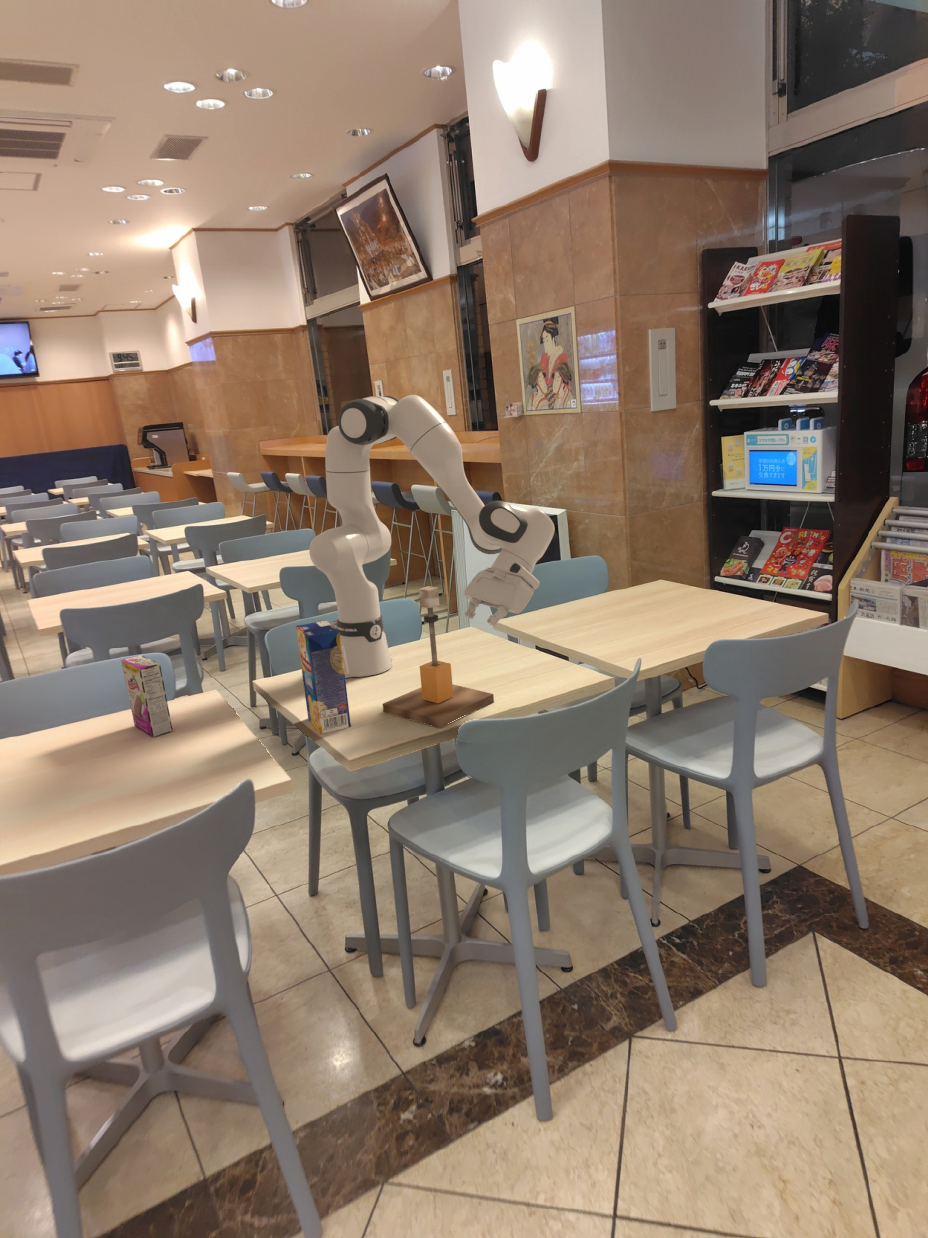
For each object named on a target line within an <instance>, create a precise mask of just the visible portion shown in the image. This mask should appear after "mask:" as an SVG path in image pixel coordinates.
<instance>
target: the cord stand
mask: <svg viewBox="0 0 928 1238" xmlns="http://www.w3.org/2000/svg"><path fill="white" fill-rule="evenodd" d="M418 597H419V605H420V606H419V607H420V608H426V609H427V614H426V615H424V616H423V621H424V623H427V624H428V629H429V630H428V631H429V640H430V641H429V642H430V651H431V652H430V653H431V661H432V665H433V666H435V667H436V666H438V662H437V661H438V651H437V650H438V649H437V640H436V630H435V629H436V628H435V623H436V622H438V621H439V615H438V614H436V613H435V614H434V608H435V607H437V606H440V595H439V587H436V586H430V585H429V586H428V585H427V586H425V587H422V588H421V587H420V588H419V589H418ZM452 686H453V697H452V698H449V699H447V700H445V701H443V702H441V703H434V702H431V701H427V700H423V698H422V687H419V688H416V689H414V690H412V691H410V692H407V693H404V694H403V695H400V696H398V697H395V698H393V699H391V700H388V701H386V702H384V703H382V710H383V711H382V712H383V713H385V712H386V713H385V714H389V713H390V714H389V715H392V714H393V716H396V715H397V716H396V717H399V716H400V718H404V719H406V720H409V719H410V720H409V721H413V720H414V722H416V721H417V723H420V722H421V723H420V724H423V723H425V724H424V725H427V724H428V725H427V726H430V725H432V726H431V727H434V726H435V727H434V728H437V727H438V729H442V728H444V727H446V726H448V725H449V724H448V723H450V722H452V721H454V720H456V719H458V718H460V717H462V716H464V715H466V714H468V713H471V712H473V713H475V712H476V711H475V710H477V711H479V710H481V709H483V708H485V707H487V706H489V705H491V704H493V703H495V699H494V698H495V697H494V696H495V695H494V693H491V692H487V691H482V690H479V689H473V688H470V687H465V686H462V685H459V684H453V683H452ZM480 708H481V709H480ZM478 709H479V710H478ZM474 711H475V712H474ZM471 714H472V713H471ZM462 718H463V717H462ZM460 719H461V718H460ZM458 720H459V719H458ZM456 721H457V720H456ZM454 722H455V721H454ZM452 723H453V722H452ZM447 724H448V725H447ZM450 724H451V723H450ZM445 725H446V726H445ZM443 726H444V727H443Z"/></svg>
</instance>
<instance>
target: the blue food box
mask: <svg viewBox="0 0 928 1238" xmlns="http://www.w3.org/2000/svg"><path fill="white" fill-rule="evenodd" d="M295 628H296V636H297V644H298V651H299V653H298V654H299V659H300V660H299V661H300V664H301V665H300V666H301V674H302V679H303V682H302V683H303V688H304V689H303V690H304V696H305V702H306V703H305V704H306V711H307V712H306V713H307V718H308V720H309V721H310V722H311V723H312V725H313V726H314V727H315V729H316V730H317V731H318V733H320V734H321V735H323V734H326V733H331V732H335V731H338V730H343V729H347V728H351V727H352V724H351V718H350V717H351V716H350V706H349V701H348V700H349V699H348V689H347V681H346V678H345V672H344V664H343V656H342V647H341V639H340V631H339V630H338V629H336V626H335V625H332V624H331V623H330V622H329V621H328V620H322V621H316V622H315V621H314V622H310V623H303V624H299V625H296V626H295Z"/></svg>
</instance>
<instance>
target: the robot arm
mask: <svg viewBox="0 0 928 1238" xmlns="http://www.w3.org/2000/svg"><path fill="white" fill-rule="evenodd" d="M395 439H399V440H400V441H401V442H402V443H403V445H405V447H406V448H407V450H408V451H409V452H410V454H411V455H412V456H413V457H414V459H415V460H416V461H417V463H419V464H420V466H421V467H422V468H423V469H424V470H425V471H426V472H427V474H429V476H430V477H431V478H432V480H434V482H435V483H437V486H439V487H440V489H441V491H442V492H443V493H444V494H445V496H446V497H447V499H448V500H449V501H450V503H451V505H452V506H453V507H454V508H455V509H456V511H457V513H458V514H459V515H460V517H461V518H462V520H463V521H464V523H465V524H466V527H467V530H468V534H469V537H470V541H471V543H472V545H473V546H474V547H475V548H476V550H477V551H479V552H481V553H483V554H486V555H496V554H498V555H497V557H496V559H495V560H494V562H493V563H492V564H491V567H487V568H485V569H482V570H480V571H479V572H477V574H476V575H474V577H473V578H472V579H471V581H470V582H469V584H467V586H466V588H465V589H464V593H463V595H464V596H465V598H466V599H468V604H467V605H468V606H467V609H466V611H465V612H464V616H465V617H466V618H467V619H469V620H470V619H471V620H472V619H474V618H475V616H476V615H477V613H476V609H477V608H478V607H480V605H483V606H486V607H491V608H495V609H496V611H495V613H494V614H493V615H490V616H489V617H488V618H487V620H486V622H487V623H488V624H489V625H490V626H493V627H496V625H497V624H498V623H499V621H501V619H503V618H505V617H506V616H507V614H508V613H514V614H520V613H521V612H523V610H524V609H525V608H526V607H527V605H528V603H529V602H530V600H531V599H532V597H533V596H534V591H536V590H537V589H538V588H539V587H540V585H541V583H540V581H539V580H538V579H537V578H536V576H534V575H533V574H532V573H533V571H534V570H535V565H536V564H537V562H538V561H540V559H541V558H542V557H543V556H544V554H545V553H546V551H547V549H548V548H549V545H550V544H551V541H553V537H554V535H555V532H556V531H555V530H556V529H555V524H554V522H553V520H552V518H551V517H550V516H549V514H547V513H546V512H545V511H543V510H541V509H539V508H537V507H533V508H532V507H531V508H526V507H519V506H516V505H512V504H510V503H507V502H506V501H503V500H493V501H489V502H487V503H486V504H484V502H483V501H482V500H481V498H480V496H479V495H478V494H477V493H476V491H475V490H474V488H473V487H472V485H471V484H470V483H469V480H468V479H467V476H466V473H465V469H464V468H465V467H464V461H463V459H464V458H463V456H464V455H463V447H462V445H461V443H460V441H459V438H458V437H457V435H456V433H455V432H454V430H453V429H452V428H451V426H450V425H449V424H448V423H447V421H446V420H445V418H443V416H442V415H441V414H440V413H439V411H437V410H436V408H434V407H433V406H432V405H431V404H430V403H429V402H428V401H427V400H425V399H424V397H421V396H419V395H417V394H410V395H406V396H404V397H402V398H400V399H398V398H396V397H394V396H388V395H384V396H381V395H374V396H373V395H372V396H371V395H370V396H367V397H364V398H357V399H354V400H351V401H349V402H347V403H346V404H345V405H344V406H342V408H341V409H340V411H339V414H338V417H337V426H334V427H333V428H331V429H330V430H329V432H328V434H327V438H326V444H325V445H326V447H325V458H324V459H325V462H324V463H325V481H326V482H325V484H326V495H327V496H326V498H327V499H326V500H327V502H328V504H329V505H330V506H331V507H333V508H334V509H335V510H337V511H338V513H339V515H340V518H341V525H340V526H337V527H333V528H330V529H326V530H324V531H322V532H321V533H319V534H317V535H316V536H314V537H313V538H312V540H311V541H310V545H309V552H308V553H309V557H310V560H311V562H312V564H313V565H314V566H315V568H316V569H318V570H319V571H320V572H322V573H323V574H324V575H325V576H326V577H327V579H328V581H329V582H330V584H331V586H332V589H333V592H334V594H335V595H334V597H335V602H336V609H337V616H338V619H336V620H334V621H332V623H333V625H332V626H335V628H336V629H338V630H339V631H340V639H341V647H342V656H343V664H344V672H345V679H348V678H359V677H361V678H362V677H368V676H374V675H379V674H383V673H385V672H386V671H388V670H390V669H391V668H392V666H393V664H392V661H393V656H392V655H391V654H390V651H389V644H388V641H387V637H386V636H387V635H386V633H385V631H384V618H383V615H381V608H380V599H379V589H378V586H377V585H376V584H375V583H374V582H372V581H370V580H368V578H367V576H366V574H365V572H364V570H363V569H364V568H363V565H365V564H369V563H372V562H375V561H377V560H378V559H380V558H382V557H383V556H384V555H386V554H387V553H388V552H389V551H390V549H391V546H392V535H391V532H390V530H389V528H388V527H387V525H385V524H384V522H382V521H381V520H380V519H379V516H378V515H377V512H376V510H375V505H374V503H373V502H374V501H373V497H372V484H371V483H372V482H371V466H370V464H371V463H370V453H371V449H372V448H373V446H375V445H380V444H382V443H387V442H389V441H392V440H393V441H394V440H395Z"/></svg>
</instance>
